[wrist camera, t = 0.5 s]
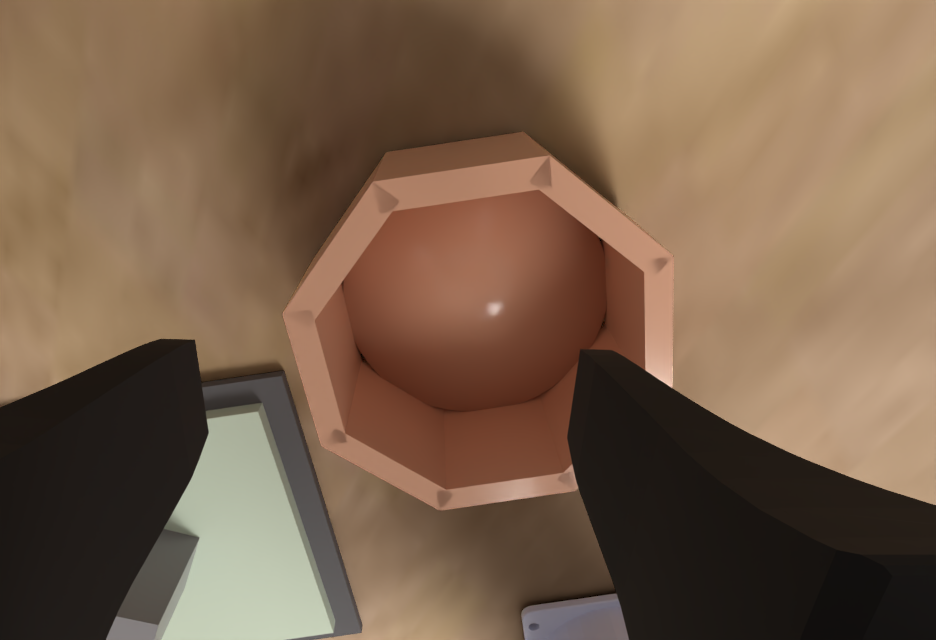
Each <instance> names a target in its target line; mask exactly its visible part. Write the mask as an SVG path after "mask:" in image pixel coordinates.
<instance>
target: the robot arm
mask: <svg viewBox="0 0 936 640" xmlns="http://www.w3.org/2000/svg"><path fill="white" fill-rule="evenodd" d="M208 434H209V430H208V424H207V417H206V410H205V404H204V397H203V391H202V384H201V377H200V371H199V364H198V358H197V351H196V344H195V340H182V339H159V340H156V341H152V342H149V343H147V344H144V345H142V346H139V347H137V348H134V349H132V350H130V351H127V352H125V353H123V354H121V355H118V356H116V357H114V358H112V359H110V360H107V361H105V362H103V363H101V364H99V365H96V366H94V367H92V368H90V369H88V370H86V371H83V372H81V373H79V374H77V375H75V376H73V377H70V378H68V379H66V380H64V381H62V382H59V383H57V384H55V385H52V386H50V387H48V388H45V389H43V390H41V391H38V392H36V393H34V394H31V395H29V396H26V397H24V398H22V399H19V400H17V401H15V402H12V403H10V404H8V405H5V406H3V407H1V408H0V640H106V638H107V636H108V634H109V631H110V629H111V627H112V625H113V622H114V620H115V618H116V615H117V613H118V611H119V609H120V607H121V605H122V603H123V601H124V599H125V597H126V595H127V593H128V591H129V589H130V587H131V585H132V583H133V582H134V580H135V578H136V576H137V575H138V573H139V571H140V569H141V568H142V566H143V564H144V562H145V561H146V559H147V557H148V555H149V553H150V552H151V550H152V548H153V546H154V545H155V543H156V541H157V539H158V538H159V536H160V534H161V532H162V531H163V529H164V527H165V525H166V524H167V522H168V520H169V518H170V517H171V515H172V513H173V511H174V510H175V508H176V506H177V504H178V502H179V501H180V499H181V497H182V495H183V493H184V492H185V490H186V488H187V486H188V484H189V482H190V480H191V479H192V476H193V474H194V471H195V469H196V466H197V464H198V461H199V459H200V456H201V453H202V451H203V448H204V445H205V442H206V439H207V437H208ZM567 440H568V445H569V450H570V455H571V460H572V465H573V469H574V474H575V478H576V482H577V485H578V488H579V491H580V494H581V497H582V499H583V502H584V505H585V508H586V510H587V513H588V516H589V519H590V521H591V524H592V527H593V530H594V532H595V535H596V538H597V540H598V543H599V546H600V548H601V551H602V554H603V557H604V559H605V562H606V565H607V567H608V570H609V573H610V576H611V578H612V581H613V584H614V587H615V590H616V594H609V595H602V596H595V597H588V598H581V599H574V600H567V601H560V602H553V603H546V604H539V605H532V606H528V607H526V608H524V609H523V611H522V613H521V617H522V624H523V631H524V638H525V640H936V505H933V504H929V503H926V502H923V501H920V500H917V499H914V498H910V497H907V496H904V495H901V494H898V493H894V492H891V491H888V490H885V489H882V488H879V487H876V486H873V485H871V484H868V483H865V482H862V481H859V480H856V479H853V478H851V477H848V476H846V475H843V474H841V473H838V472H835V471H833V470H830V469H828V468H825V467H823V466H820V465H818V464H815V463H813V462H810V461H808V460H805V459H803V458H801V457H798V456H796V455H794V454H791V453H789V452H787V451H785V450H783V449H780V448H778V447H776V446H774V445H772V444H770V443H768V442H766V441H764V440H762V439H760V438H758V437H756V436H753V435H751V434H749V433H747V432H746V431H744V430H742V429H740V428H738V427H736V426H734V425H732V424H731V423H729V422H727V421H725V420H724V419H722V418H720V417H718V416H717V415H715V414H713V413H711V412H710V411H708V410H706V409H705V408H703V407H701V406H700V405H698V404H696V403H695V402H693V401H691V400H690V399H688V398H687V397H685V396H684V395H682V394H680V393H679V392H677V391H676V390H674V389H673V388H671V387H670V386H668V385H667V384H665V383H664V382H662V381H661V380H659V379H658V378H656V377H655V376H653V375H652V374H650V373H649V372H647V371H646V370H644V369H643V368H641V367H640V366H638V365H637V364H635V363H633V362H632V361H630V360H629V359H627V358H626V357H624V356H622V355H620V354H619V353H617V352H615V351H613V350H597V349H580V354H579V361H578V367H577V374H576V381H575V387H574V394H573V401H572V408H571V414H570V421H569V428H568V434H567Z"/></svg>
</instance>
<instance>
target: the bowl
mask: <svg viewBox="0 0 936 640" xmlns="http://www.w3.org/2000/svg"><path fill="white" fill-rule="evenodd" d="M597 235H598V236H599V237H600V238H601V243H600V241H599V238H598V236H597ZM343 280H344V284H343ZM673 287H674V256H673V255H672V254H671V253H670V252H669V251H668V250H666V249H665V248H664V247H663V246H662V245H661V244H659V243H658V242H657V241H656V240H655V239H654V238H652V237H651V236H650V235H649V234H648V233H647V232H645V231H644V230H643V229H642V228H641V227H640V226H638V225H637V224H636V223H635V222H634V221H633V220H632V219H630V218H629V217H628V216H627V215H626V214H625V213H623V212H622V211H621V210H620V209H618V208H617V207H616V206H615V205H613V204H612V203H611V202H610V201H608V200H607V199H606V198H605V197H604V196H602V195H601V194H600V193H599V192H597V191H596V190H595V189H594V188H592V187H591V186H590V185H589V184H588V183H586V182H585V181H584V180H583V179H581V178H580V177H579V176H578V175H576V174H575V173H574V172H573V171H572V170H570V169H569V168H568V167H567V166H565V165H564V164H563V163H562V162H560V161H559V160H558V159H557V158H555V157H554V156H553V155H552V154H551V153H549V152H548V151H547V150H546V149H544V148H543V147H542V146H541V145H539V144H538V143H537V142H536V141H535V140H533V139H532V138H531V137H530V136H528V135H527V134H526V133H525V132H518V133H511V134H504V135H497V136H491V137H484V138H477V139H471V140H464V141H457V142H451V143H444V144H437V145H431V146H424V147H417V148H411V149H404V150H397V151H391V152H386V153H385V155H384V156H383V158H382V159H381V161H380V162H379V163H378V165H377V166H376V168H375V169H374V171H373V172H372V174H371V175H370V177H369V178H368V180H367V181H366V182H365V184H364V185H363V187H362V188H361V190H360V191H359V193H358V194H357V196H356V197H355V199H354V200H353V202H352V203H351V204H350V206H349V207H348V209H347V210H346V212H345V213H344V215H343V216H342V218H341V219H340V221H339V222H338V223H337V225H336V226H335V228H334V229H333V231H332V232H331V234H330V235H329V237H328V238H327V240H326V241H325V243H324V244H323V245H322V247H321V248H320V250H319V251H318V253H317V254H316V256H315V257H314V259H313V260H312V262H311V264H310V265H309V267H308V269H307V271H306V272H305V274H304V276H303V278H302V279H301V281H300V283H299V285H298V286H297V288H296V290H295V292H294V294H293V295H292V297H291V299H290V301H289V302H288V304H287V306H286V308H285V309H284V311H283V313H282V315H283V319H284V322H285V326H286V329H287V332H288V336H289V339H290V342H291V346H292V349H293V353H294V356H295V359H296V363H297V366H298V370H299V373H300V376H301V380H302V383H303V387H304V390H305V393H306V397H307V400H308V404H309V407H310V410H311V414H312V417H313V420H314V424H315V427H316V431H317V434H318V437H319V441H320V444H321V446H322V447H323V448H325V449H327V450H329V451H331V452H333V453H334V454H336V455H338V456H340V457H342V458H344V459H345V460H347V461H349V462H351V463H353V464H355V465H356V466H358V467H360V468H362V469H364V470H366V471H368V472H369V473H371V474H373V475H375V476H377V477H379V478H380V479H382V480H384V481H386V482H388V483H390V484H391V485H393V486H395V487H397V488H399V489H401V490H403V491H404V492H406V493H408V494H410V495H412V496H414V497H415V498H417V499H419V500H421V501H423V502H425V503H426V504H428V505H430V506H432V507H434V508H436V509H438V510H439V511H441V510H448V509H455V508H462V507H469V506H476V505H483V504H490V503H497V502H504V501H511V500H517V499H524V498H531V497H538V496H545V495H552V494H559V493H566V492H573V491H576V490H577V489H578V485H577V482H576V478H575V474H574V469H573V465H572V460H571V455H570V450H569V445H568V440H567V434H568V428H569V421H570V414H571V408H572V401H573V394H574V387H575V381H576V374H577V367H578V361H579V354H580V349H597V350H613V351H615V352H617V353H619V354H620V355H622V356H624V357H626V358H627V359H629V360H630V361H632V362H633V363H635V364H637V365H638V366H640V367H641V368H643V369H644V370H646V371H647V372H649V373H650V374H652V375H653V376H655V377H656V378H658V379H659V380H661V381H662V382H664V383H665V384H667V385H668V386H670V387H671V388H673ZM604 316H605V324H604V326H603V327H602V328H601V325H602V322H603V318H604ZM600 328H601V329H600ZM360 352H361V353H362V355H363V356H364V358H365V359H366V361H367V362H368V363H369V364H368V363H366V362H365V361H363V360H362V358H361V354H360ZM442 408H443V409H442Z"/></svg>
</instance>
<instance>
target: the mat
mask: <svg viewBox="0 0 936 640" xmlns="http://www.w3.org/2000/svg"><path fill="white" fill-rule="evenodd" d="M201 384H202V391H203V397H204V404H205V410H206V411H208V410H215V409H222V408H229V407H236V406H243V405H250V404H256V403H263V406H264V409H265V412H266V415H267V418H268V421H269V424H270V427H271V430H272V433H273V436H274V439H275V442H276V445H277V448H278V451H279V454H280V457H281V460H282V463H283V466H284V469H285V472H286V475H287V478H288V481H289V484H290V487H291V490H292V493H293V496H294V499H295V502H296V505H297V508H298V511H299V514H300V517H301V520H302V523H303V526H304V529H305V532H306V535H307V538H308V541H309V544H310V547H311V550H312V553H313V556H314V559H315V562H316V565H317V568H318V571H319V574H320V577H321V580H322V583H323V586H324V589H325V592H326V595H327V597H328V600H329V603H330V606H331V609H332V612H333V615H334V618H335V627H334V633H329V634H322V635H315V636H308V637H301V638H294V639H287V640H314V639H321V638H328V637H335V636H342V635H349V634H356V633H362V622H361V619H360V616H359V613H358V609H357V606H356V603H355V600H354V596H353V593H352V590H351V587H350V583H349V580H348V577H347V574H346V570H345V567H344V564H343V561H342V557H341V554H340V551H339V548H338V544H337V541H336V538H335V535H334V531H333V528H332V525H331V522H330V518H329V515H328V512H327V509H326V505H325V502H324V499H323V496H322V492H321V489H320V486H319V483H318V479H317V476H316V473H315V470H314V466H313V463H312V460H311V457H310V453H309V450H308V447H307V444H306V440H305V437H304V434H303V431H302V428H301V424H300V421H299V418H298V415H297V411H296V408H295V405H294V402H293V398H292V395H291V392H290V389H289V385H288V382H287V379H286V376H285V372H284V371H277V372H270V373H263V374H257V375H250V376H243V377H236V378H229V379H222V380H215V381H209V382H202V383H201Z"/></svg>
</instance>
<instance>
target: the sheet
mask: <svg viewBox="0 0 936 640" xmlns="http://www.w3.org/2000/svg"><path fill="white" fill-rule="evenodd" d="M206 417H207V424H208V430H209V434H208V437H207V439H206V442H205V445H204V448H203V451H202V453H201V456H200V459H199V461H198V464H197V466H196V469H195V471H194V474H193V476H192V479H191V480H190V482H189V484H188V486H187V488H186V490H185V492H184V493H183V495H182V497H181V499H180V501H179V502H178V504H177V506H176V508H175V510H174V511H173V513H172V515H171V517H170V518H169V520H168V522H167V524H166V525H165V527H164V529H163V531H162V532H161V534H160V536H159V538H158V539H157V541H156V543H155V545H154V546H153V548H152V550H151V552H150V553H149V555H148V557H147V559H146V561H145V562H144V564H143V566H142V568H141V569H140V571H139V573H138V575H137V576H136V578H135V580H134V582H133V583H132V585H131V587H130V589H129V591H128V593H127V595H126V597H125V599H124V601H123V603H122V605H121V607H120V609H119V611H118V613H117V615H116V618H115V620H114V622H113V625H112V627H111V629H110V631H109V634H108V636H107V638H106V640H287V639H294V638H301V637H308V636H315V635H322V634H329V633H334V627H335V618H334V615H333V612H332V609H331V606H330V603H329V600H328V597H327V595H326V592H325V589H324V586H323V583H322V580H321V577H320V574H319V571H318V568H317V565H316V562H315V559H314V556H313V553H312V550H311V547H310V544H309V541H308V538H307V535H306V532H305V529H304V526H303V523H302V520H301V517H300V514H299V511H298V508H297V505H296V502H295V499H294V496H293V493H292V490H291V487H290V484H289V481H288V478H287V475H286V472H285V469H284V466H283V463H282V460H281V457H280V454H279V451H278V448H277V445H276V442H275V439H274V436H273V433H272V430H271V427H270V424H269V421H268V418H267V415H266V412H265V409H264V406H263V403H256V404H250V405H243V406H236V407H229V408H222V409H215V410H208V411H206Z"/></svg>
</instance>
